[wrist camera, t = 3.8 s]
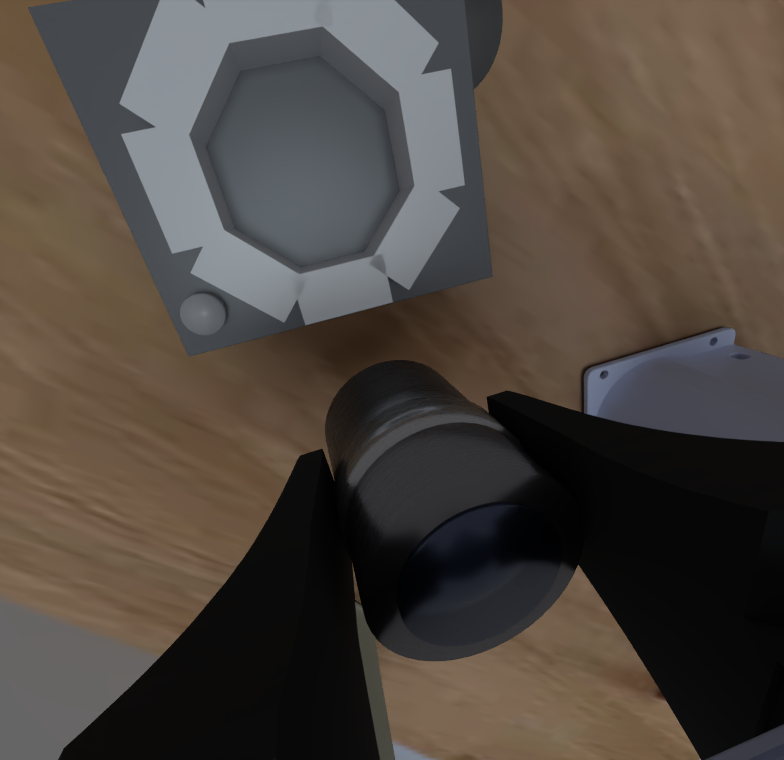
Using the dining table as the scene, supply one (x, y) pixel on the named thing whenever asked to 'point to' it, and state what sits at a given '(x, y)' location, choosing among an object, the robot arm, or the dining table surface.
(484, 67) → the lens cap
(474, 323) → the dining table surface
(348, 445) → the lens
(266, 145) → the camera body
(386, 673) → the dining table surface
